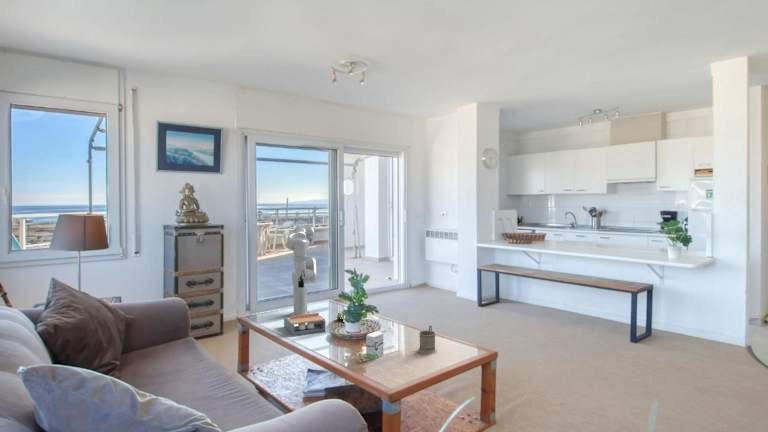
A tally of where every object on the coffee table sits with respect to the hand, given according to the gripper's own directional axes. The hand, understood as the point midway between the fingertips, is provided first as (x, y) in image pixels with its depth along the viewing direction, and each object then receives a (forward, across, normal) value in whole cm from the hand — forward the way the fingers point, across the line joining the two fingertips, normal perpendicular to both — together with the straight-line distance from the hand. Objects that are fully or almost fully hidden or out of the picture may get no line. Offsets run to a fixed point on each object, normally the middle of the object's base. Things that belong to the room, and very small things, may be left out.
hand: (301, 287), depth 269 cm
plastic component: (+26, -2, +36) cm, 44 cm away
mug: (+25, +73, +50) cm, 92 cm away
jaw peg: (+25, +14, -3) cm, 29 cm away
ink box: (+25, +70, +20) cm, 77 cm away
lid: (+18, +12, 0) cm, 22 cm away
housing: (+25, +7, 0) cm, 26 cm away
